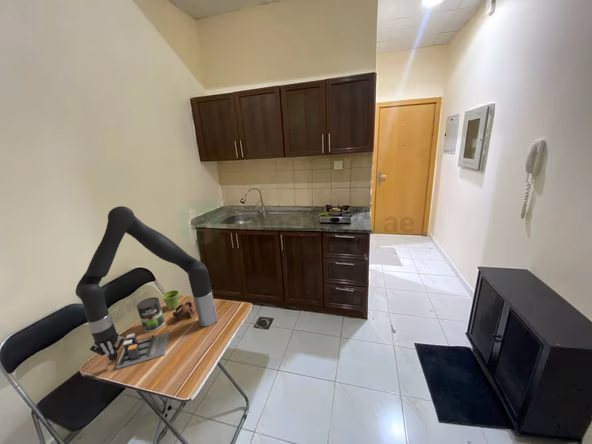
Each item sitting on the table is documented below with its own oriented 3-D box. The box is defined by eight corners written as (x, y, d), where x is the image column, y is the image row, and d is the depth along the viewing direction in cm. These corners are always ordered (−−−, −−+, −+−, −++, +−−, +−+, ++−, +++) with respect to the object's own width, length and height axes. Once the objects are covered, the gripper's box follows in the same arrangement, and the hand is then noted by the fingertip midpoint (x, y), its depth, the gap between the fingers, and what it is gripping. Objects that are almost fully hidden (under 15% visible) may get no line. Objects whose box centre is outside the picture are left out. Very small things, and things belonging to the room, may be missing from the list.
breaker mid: (135, 349, 114) (131, 339, 113) (133, 352, 112) (130, 342, 111) (127, 351, 113) (124, 341, 112) (126, 354, 111) (122, 344, 110)
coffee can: (165, 326, 131) (158, 303, 127) (142, 334, 126) (135, 311, 123) (165, 316, 140) (159, 294, 136) (144, 323, 135) (137, 301, 132)
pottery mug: (191, 322, 134) (180, 313, 130) (179, 327, 136) (168, 319, 133) (199, 304, 144) (189, 295, 140) (188, 309, 147) (178, 301, 143)
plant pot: (185, 304, 150) (182, 292, 147) (170, 313, 142) (167, 300, 140) (176, 300, 154) (173, 288, 152) (161, 309, 147) (158, 296, 145)
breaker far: (137, 342, 118) (134, 333, 117) (136, 345, 116) (133, 336, 115) (130, 344, 118) (127, 335, 116) (129, 347, 116) (125, 338, 114)
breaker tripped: (139, 353, 111) (136, 343, 110) (138, 357, 109) (135, 347, 108) (132, 356, 110) (129, 346, 109) (130, 359, 108) (127, 349, 107)
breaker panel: (169, 335, 124) (168, 330, 123) (165, 354, 112) (163, 350, 111) (126, 347, 119) (124, 342, 118) (116, 369, 106) (114, 364, 105)
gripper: (122, 316, 108) (133, 348, 112) (87, 325, 104) (100, 358, 109) (117, 326, 101) (129, 360, 106) (78, 337, 97) (92, 371, 102)
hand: (114, 359), depth 107 cm, fingers closed
